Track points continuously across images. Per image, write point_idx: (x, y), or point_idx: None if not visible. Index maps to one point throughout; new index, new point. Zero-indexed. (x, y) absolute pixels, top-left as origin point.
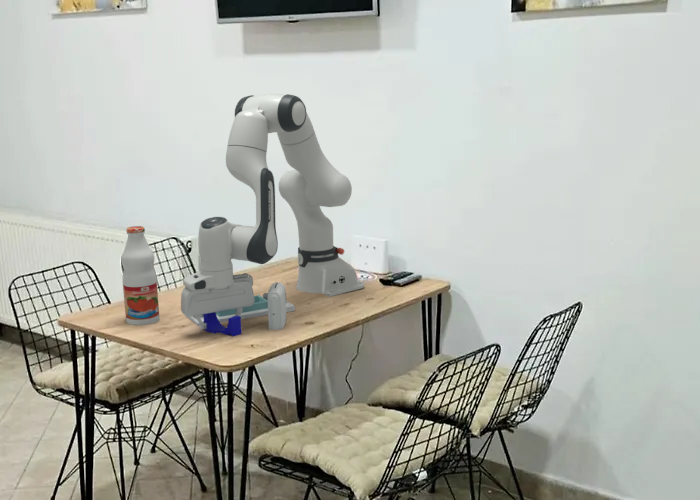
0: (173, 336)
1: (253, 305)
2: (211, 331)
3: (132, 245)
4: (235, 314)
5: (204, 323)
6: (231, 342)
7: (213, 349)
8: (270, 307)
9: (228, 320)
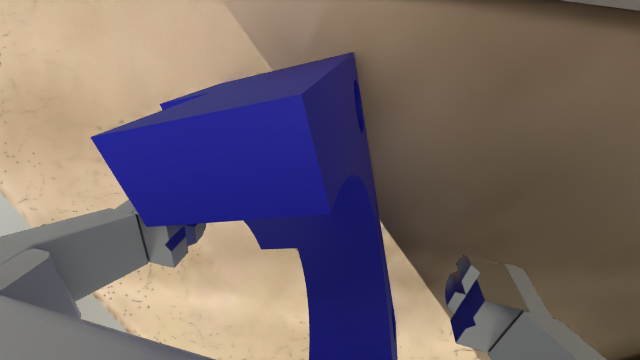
0: (20, 31)
1: None
2: (252, 224)
3: None
4: (540, 336)
5: (156, 263)
6: (309, 332)
7: (210, 329)
8: None
9: (620, 4)
